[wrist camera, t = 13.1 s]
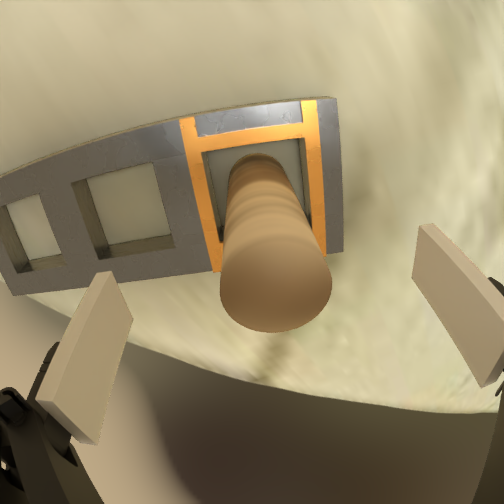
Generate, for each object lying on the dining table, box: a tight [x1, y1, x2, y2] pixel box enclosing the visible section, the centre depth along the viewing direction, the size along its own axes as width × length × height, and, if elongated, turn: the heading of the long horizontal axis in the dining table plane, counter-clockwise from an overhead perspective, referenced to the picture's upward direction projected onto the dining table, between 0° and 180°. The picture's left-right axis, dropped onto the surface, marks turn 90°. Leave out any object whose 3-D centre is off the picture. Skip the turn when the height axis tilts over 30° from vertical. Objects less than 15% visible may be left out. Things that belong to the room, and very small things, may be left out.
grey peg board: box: [0, 96, 343, 296], centre depth 24 cm, size 12×33×3 cm, turn 98°
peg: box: [220, 153, 332, 333], centre depth 18 cm, size 4×4×14 cm
